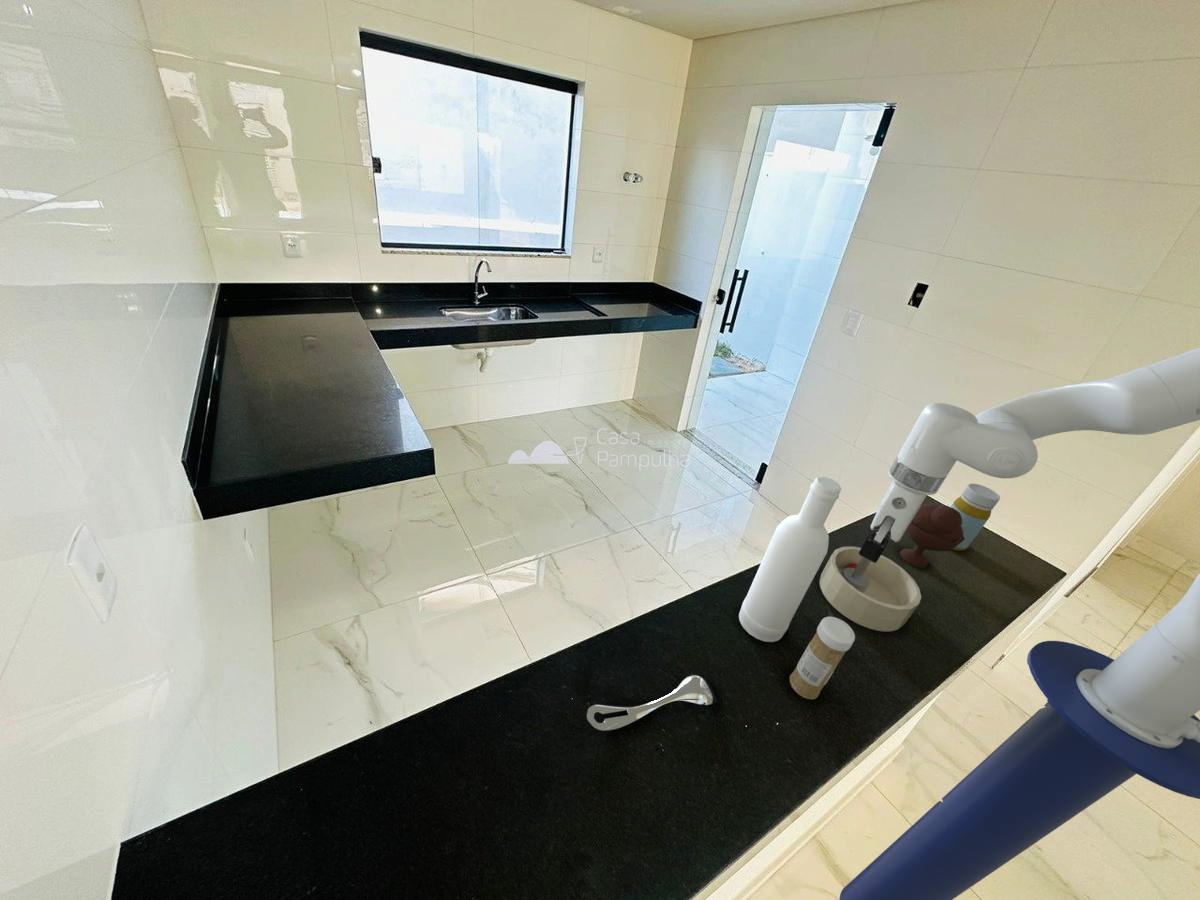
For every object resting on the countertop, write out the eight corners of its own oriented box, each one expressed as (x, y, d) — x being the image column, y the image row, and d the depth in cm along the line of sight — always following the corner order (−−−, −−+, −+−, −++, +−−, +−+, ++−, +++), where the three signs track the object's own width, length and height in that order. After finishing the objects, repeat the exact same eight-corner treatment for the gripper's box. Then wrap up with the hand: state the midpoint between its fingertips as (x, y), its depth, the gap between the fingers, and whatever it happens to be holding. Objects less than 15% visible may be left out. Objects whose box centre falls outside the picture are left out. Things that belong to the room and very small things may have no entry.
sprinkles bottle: (825, 694, 70) (863, 637, 63) (803, 704, 68) (841, 646, 61) (802, 668, 74) (836, 611, 67) (781, 677, 72) (814, 619, 65)
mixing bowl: (912, 601, 91) (928, 579, 88) (894, 647, 80) (911, 624, 77) (833, 557, 99) (845, 535, 96) (807, 593, 88) (819, 571, 85)
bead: (863, 576, 93) (860, 565, 94) (860, 571, 92) (857, 560, 93) (850, 578, 94) (847, 567, 96) (847, 573, 93) (845, 562, 94)
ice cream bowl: (948, 566, 102) (987, 513, 95) (926, 583, 96) (966, 528, 88) (901, 536, 109) (933, 485, 102) (878, 550, 103) (910, 497, 96)
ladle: (867, 584, 91) (898, 534, 85) (861, 597, 88) (892, 546, 82) (843, 571, 94) (871, 521, 87) (836, 582, 91) (864, 532, 84)
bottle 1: (756, 648, 76) (828, 503, 61) (729, 610, 82) (788, 470, 67) (793, 637, 79) (871, 496, 64) (764, 601, 85) (828, 465, 70)
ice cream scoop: (595, 727, 57) (584, 692, 61) (589, 743, 59) (579, 707, 62) (727, 695, 65) (710, 665, 68) (719, 710, 66) (703, 680, 70)
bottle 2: (967, 543, 111) (1004, 493, 103) (963, 556, 106) (1001, 505, 98) (935, 528, 114) (968, 478, 107) (929, 540, 110) (963, 489, 102)
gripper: (933, 503, 71) (879, 587, 80) (948, 470, 81) (899, 547, 91) (881, 480, 74) (835, 563, 84) (902, 451, 85) (859, 528, 95)
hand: (869, 554), depth 87 cm, fingers closed on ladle
